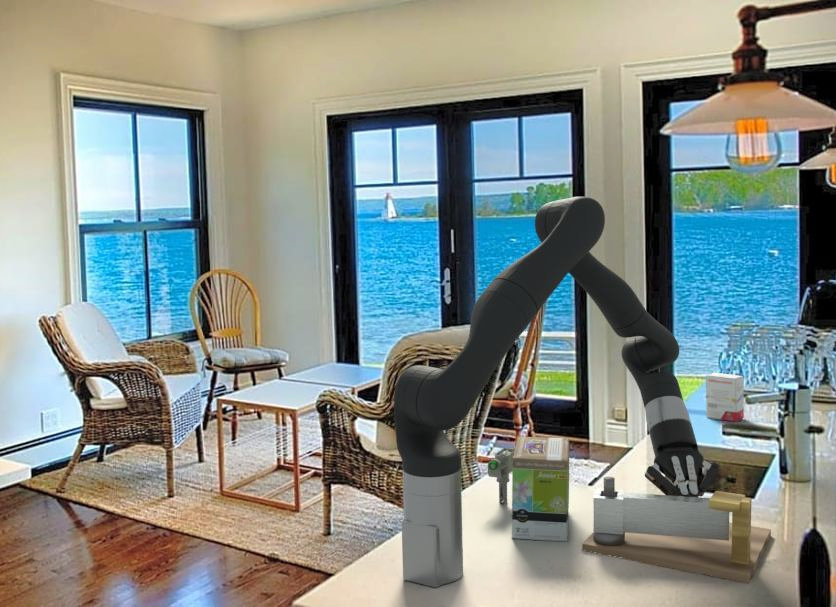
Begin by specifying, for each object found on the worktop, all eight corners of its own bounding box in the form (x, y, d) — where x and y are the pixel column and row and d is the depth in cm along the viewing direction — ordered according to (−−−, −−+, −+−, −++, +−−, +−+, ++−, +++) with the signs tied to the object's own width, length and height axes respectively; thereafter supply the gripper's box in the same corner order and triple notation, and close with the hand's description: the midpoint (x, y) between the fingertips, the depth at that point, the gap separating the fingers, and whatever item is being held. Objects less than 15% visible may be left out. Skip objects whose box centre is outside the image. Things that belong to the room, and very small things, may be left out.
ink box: (744, 419, 224) (745, 375, 223) (736, 422, 221) (736, 378, 219) (713, 414, 230) (714, 371, 229) (704, 417, 227) (705, 374, 226)
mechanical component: (486, 510, 161) (485, 460, 160) (505, 494, 170) (505, 446, 169) (500, 513, 160) (499, 461, 158) (519, 496, 169) (519, 447, 167)
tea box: (569, 542, 145) (569, 459, 143) (510, 540, 147) (510, 457, 145) (569, 511, 160) (569, 435, 158) (516, 509, 161) (515, 434, 160)
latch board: (748, 583, 128) (750, 507, 126) (582, 550, 141) (581, 481, 140) (770, 535, 145) (772, 468, 144) (620, 510, 159) (621, 449, 158)
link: (593, 532, 140) (593, 497, 140) (595, 521, 145) (595, 488, 144) (729, 543, 135) (730, 507, 134) (727, 532, 139) (727, 497, 139)
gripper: (637, 418, 147) (659, 511, 137) (712, 415, 148) (740, 507, 137) (629, 439, 153) (650, 529, 143) (700, 435, 154) (726, 525, 143)
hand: (694, 518), depth 140 cm, fingers closed
